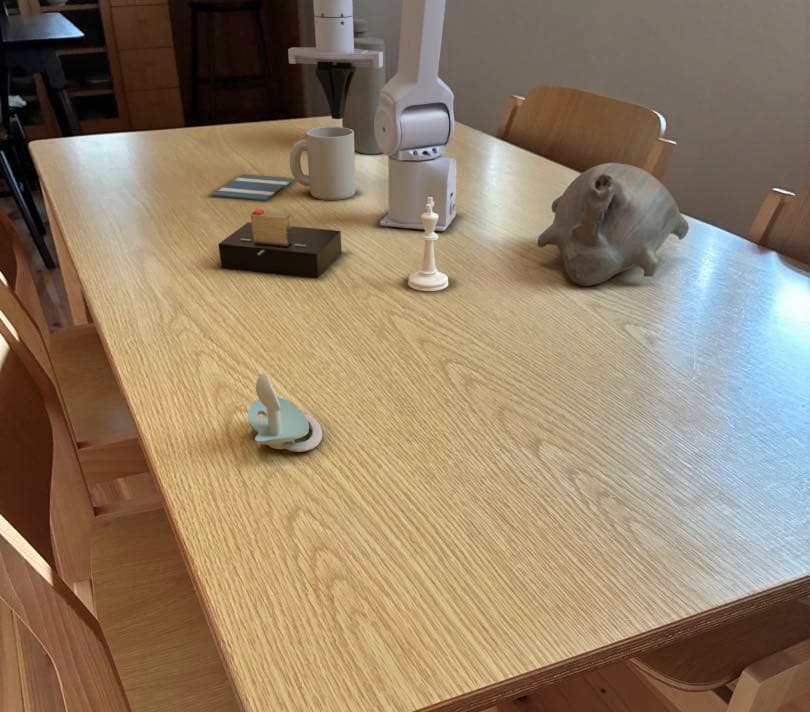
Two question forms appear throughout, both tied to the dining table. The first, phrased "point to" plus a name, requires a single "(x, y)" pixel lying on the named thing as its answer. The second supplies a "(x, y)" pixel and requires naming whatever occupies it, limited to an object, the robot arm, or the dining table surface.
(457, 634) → the dining table surface
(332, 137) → the cup
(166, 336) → the dining table surface
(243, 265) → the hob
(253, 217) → the tan flat block piece
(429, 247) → the chess piece
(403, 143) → the robot arm
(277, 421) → the pacifier
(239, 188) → the dish towel
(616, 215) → the clay animal vessel
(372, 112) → the flask
